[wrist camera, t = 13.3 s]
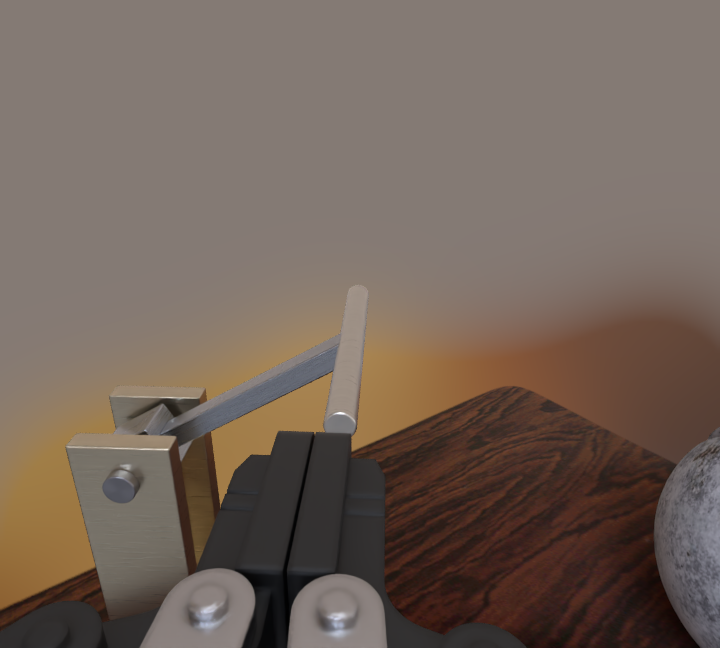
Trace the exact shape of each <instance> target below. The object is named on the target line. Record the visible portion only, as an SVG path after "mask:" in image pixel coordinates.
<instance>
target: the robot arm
mask: <svg viewBox="0 0 720 648" xmlns="http://www.w3.org/2000/svg"><path fill="white" fill-rule="evenodd" d="M384 553H385V475H384V473H383V472H382V470H381V468H380V466H379V465H378V463H377V461H376V460H375V459H357V458H351V433H328V432H316V434H314V432H296V431H295V432H294V431H279V432H278V433H277V436H276V439H275V442H274V445H273V448H272V452H271V455H250V456H249V457H248V458H247V459H246V460H245V461H244V462H243V463H242V464H241V465H240V466H239V467H238V468H237V469H236V470H235V471H234V474H233V476H232V479H231V481H230V484H229V486H228V489H227V494H225V497H224V499H223V502H222V504H221V510H219V512H218V514H217V517H216V519H215V522H214V525H213V527H212V530H211V532H210V535H209V537H208V540H207V542H206V545H205V548H204V550H203V553H202V555H201V558H200V560H199V563H198V565H197V568H196V570H195V573H194V574H192V575H190V576H188V577H186V578H185V579H183V580H182V581H181V582H179V583H178V584H177V585H176V586H175V587H174V588H173V589H172V590H171V591H170V592H169V593H168V595H167V596H166V598H165V600H164V601H163V603H162V605H161V606H159V607H157V608H155V609H152V610H150V611H147V612H144V613H140V614H136V615H132V616H128V617H124V618H119V619H115V620H111V621H107V622H103V623H102V622H101V618H100V615H99V614H98V612H97V611H96V610H95V609H94V608H93V607H92V606H90V605H88V604H87V603H83V602H80V601H62V602H57V603H53V604H50V605H46V606H44V607H42V608H39V609H37V610H35V611H33V612H32V613H30V614H28V615H26V616H25V617H23V618H21V619H20V620H18V621H17V622H15V623H13V624H12V625H10V626H9V627H7V628H5V629H4V630H2V631H1V632H0V648H527V647H526V646H525V645H524V644H523V643H522V642H521V641H519V640H518V639H517V638H516V637H515V636H513V635H512V634H510V633H509V632H507V631H506V630H503V629H501V628H499V627H497V626H493V625H490V624H485V623H468V624H463V625H460V626H457V627H455V628H454V629H452V630H450V631H449V632H448V633H447V634H446V635H445V636H444V635H442V634H439V633H436V632H434V631H431V630H428V629H426V628H423V627H421V626H418V625H416V624H414V623H412V622H411V621H409V620H408V619H406V618H405V617H404V616H402V615H401V614H400V613H399V612H398V611H397V610H396V609H395V607H394V606H393V605H392V603H391V602H390V600H389V598H388V596H387V593H386V589H385V584H384Z"/></svg>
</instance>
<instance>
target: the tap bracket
mask: <svg viewBox="0 0 720 648" xmlns="http://www.w3.org/2000/svg"><path fill="white" fill-rule="evenodd" d="M109 399H110V403H111V408H112V413H113V417H114V423H115V427H116V429H117V428H118V427H119V426H120V425H122V424H124V423H126V422H128V421H130V420H132V419H134V418H136V417H138V416H140V415H142V414H144V413H146V412H147V411H149V410H151V409H153V408H155V407H157V406H159V405H161V404H164V405H165V406H166V408H167V409H168V410H169V411H170V412H171V414H172V415H173V416H174V417H177V416H179V415H181V414H183V413H185V412H187V411H189V410H191V409H193V408H195V407H197V406H199V405H201V404H203V403H205V402H207V398H206V390H205V388H193V387H155V386H117V387H116V388H115V389H114V390H113V392H112V393H111V394H110V395H109ZM66 452H67V455H68V459H69V463H70V467H71V471H72V475H73V479H74V483H75V487H76V491H77V494H78V498H79V502H80V506H81V510H82V514H83V518H84V522H85V526H86V530H87V534H88V538H89V542H90V546H91V550H92V553H93V557H94V561H95V565H96V569H97V573H98V577H99V581H100V585H101V589H102V593H103V597H104V601H105V605H106V609H107V612H108V616H109V620H110V621H111V620H115V619H119V618H124V617H128V616H132V615H136V614H140V613H144V612H147V611H150V610H152V609H155V608H157V607H159V606H161V605H162V603H163V601H164V600H165V598H166V596H167V595H168V593H169V592H170V591H171V590H172V589H173V588H174V587H175V586H176V585H177V584H178V583H179V582H181V581H182V580H183V579H185V578H186V577H188V576H190V575H192V574H194V573H195V570H196V568H197V565H198V563H199V560H200V558H201V555H202V553H203V550H204V548H205V545H206V542H207V540H208V537H209V535H210V532H211V530H212V527H213V525H214V522H215V519H216V517H217V514H218V512H219V510H221V509H220V502H219V493H218V486H217V478H216V469H215V461H214V454H213V445H212V438H211V432H209V433H206V434H204V435H202V436H200V437H198V438H196V439H194V440H193V442H192V443H191V445H190V447H189V449H188V451H187V453H186V455H185V456H184V458H183V460H182V462H181V460H180V454H179V448H178V441H177V437H176V436H161V435H127V434H94V433H77V434H75V436H74V437H73V438H72V439H71V440H70V441H69V442H68V444H67V445H66Z"/></svg>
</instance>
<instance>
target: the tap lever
mask: <svg viewBox="0 0 720 648" xmlns="http://www.w3.org/2000/svg"><path fill="white" fill-rule="evenodd" d="M368 295H369V294H368V291H367V289H366V288H365V287H364V286H362V285H354V286H352V287H351V288H350V289H349V291H348V295H347V301H346V307H345V311H344V316H343V322H342V327H341V333H340V334H339V335H337V336H335V337H333V338H331V339H329V340H327V341H325V342H323V343H321V344H319V345H317V346H315V347H313V348H311V349H309V350H307V351H305V352H303V353H301V354H299V355H297V356H295V357H293V358H291V359H289V360H287V361H285V362H283V363H281V364H279V365H277V366H276V367H274V368H272V369H270V370H268V371H266V372H264V373H262V374H260V375H258V376H256V377H254V378H252V379H250V380H248V381H246V382H244V383H242V384H240V385H238V386H236V387H234V388H232V389H230V390H228V391H227V392H224V393H222V394H220V395H218V396H216V397H214V398H213V399H211V400H209V401H207V402H205V403H203V404H201V405H199V406H197V407H195V408H193V409H191V410H189V411H187V412H185V413H183V414H181V415H179V416H177V417H174V416H173V415H172V414H171V412H170V411H169V410H168V409H167V408H166V406H165V405H164V404H161V405H159V406H157V407H155V408H153V409H151V410H149V411H147V412H146V413H144V414H142V415H140V416H138V417H136V418H134V419H132V420H130V421H128V422H126V423H124V424H122V425H120V426H119V427H118V428H117V429H116V430H115V432H114V433H113V434H127V435H161V436H176V437H177V441H178V448H179V454H180V460H181V462H182V460H183V458H184V456H185V455H186V453H187V451H188V449H189V447H190V445H191V443H192V442H193V440H194V439H196V438H198V437H200V436H202V435H204V434H206V433H209V432H211V431H213V430H215V429H216V428H219V427H221V426H223V425H225V424H227V423H229V422H231V421H233V420H235V419H237V418H239V417H241V416H243V415H245V414H247V413H249V412H251V411H253V410H255V409H257V408H259V407H261V406H264V405H265V404H268V403H270V402H272V401H274V400H276V399H278V398H280V397H282V396H284V395H286V394H288V393H290V392H292V391H294V390H296V389H298V388H300V387H302V386H304V385H306V384H308V383H310V382H312V381H314V380H316V379H319V378H320V377H323V376H324V375H327V374H328V373H331V372H333V376H332V380H331V386H330V391H329V397H328V402H327V407H326V412H325V418H324V424H323V427H324V430H325V432H328V433H351V437H352V435H354V433H355V432H356V429H357V420H358V409H359V398H360V386H361V375H362V364H363V352H364V342H365V330H366V319H367V307H368Z"/></svg>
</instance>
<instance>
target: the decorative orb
mask: <svg viewBox="0 0 720 648" xmlns="http://www.w3.org/2000/svg"><path fill="white" fill-rule="evenodd" d="M654 547H655V556H656V561H657V567H658V570H659V574H660V578H661V581H662V584H663V586H664V589H665V591H666V594H667V596H668V598H669V600H670V603H671V605H672V607H673V609H674V610H675V612H676V614H677V616H678V617H679V619H680V621H681V622H682V624H683V625H684V627H685V628H686V630H687V631H688V633H689V634H690V635H691V637H692V638H693V639H694V641H695V642H696V643H697V644H698V645H699V647H700V648H720V427H719V428H717V429H716V430H715V431H713V432H712V433H711V435H710V436H709V438H708V440H707V441H704V442H702V443H700V444H699V445H697V446H696V447H694V448H693V449H692V450H691V451H690V452H689V453H687V455H686V456H685V457H684V458H683V459H682V460H681V461H680V462H679V464H678V465H677V466H676V467H675V469H674V470H673V471H672V473H671V475H670V477H669V478H668V480H667V482H666V484H665V486H664V489H663V491H662V493H661V496H660V499H659V502H658V506H657V510H656V515H655V523H654Z"/></svg>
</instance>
